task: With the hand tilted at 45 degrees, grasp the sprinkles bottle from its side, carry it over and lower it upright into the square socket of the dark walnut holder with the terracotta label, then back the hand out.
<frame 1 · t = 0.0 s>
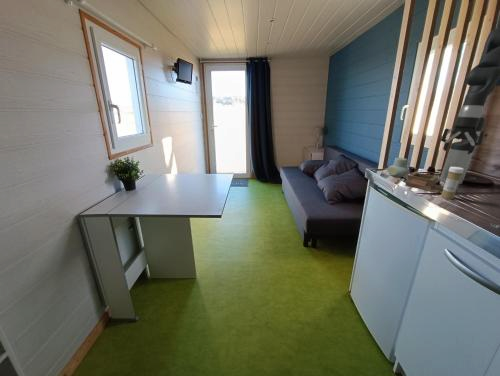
hand: (456, 152, 108), 17 cm above the counter, tool pointing down, fingers open, 8 cm apart
sprinkles bottle: (446, 197, 100), on the counter
spice socket: (420, 186, 114), on the counter
air freshener: (396, 176, 130), on the counter
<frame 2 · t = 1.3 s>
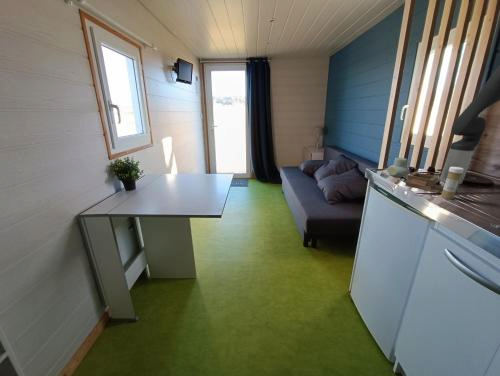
nothing on the counter moved.
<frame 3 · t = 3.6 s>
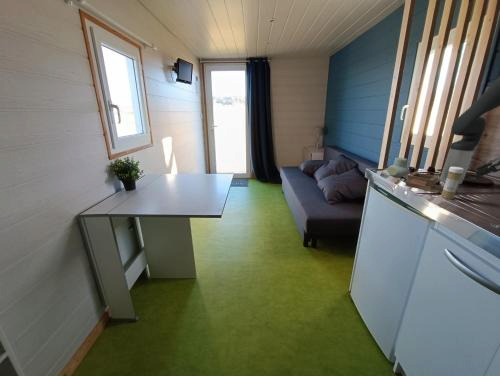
hand: (477, 172, 92), 13 cm above the counter, tool tilted 45°, fingers open, 8 cm apart
nothing on the counter moved.
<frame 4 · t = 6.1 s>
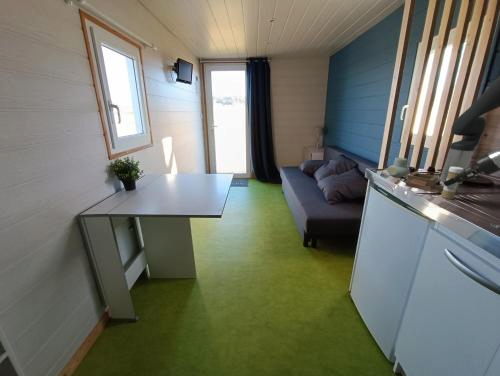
hand: (445, 183, 99), 6 cm above the counter, tool tilted 45°, fingers closed on sprinkles bottle, 4 cm apart
sprinkles bottle: (446, 197, 100), on the counter, touching gripper
everything else where it was.
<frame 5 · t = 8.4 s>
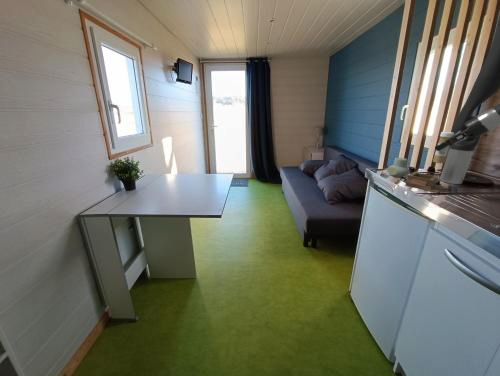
hand: (437, 148, 103), 20 cm above the counter, tool tilted 45°, fingers closed on sprinkles bottle, 4 cm apart
sprinkles bottle: (438, 162, 104), point 13 cm above the counter, touching gripper
everything else where it was.
when the fingers open (8 cm above the counter, at t = 11.1 s): sprinkles bottle drops 1 cm, resting on spice socket.
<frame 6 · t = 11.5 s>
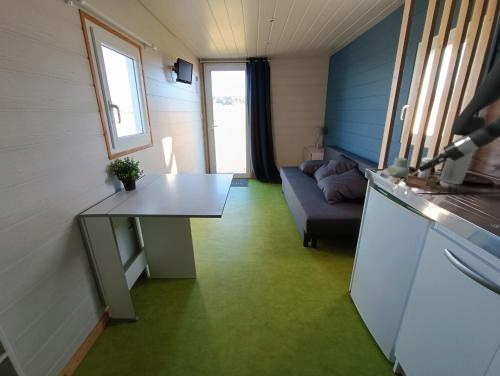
hand: (421, 168, 112), 9 cm above the counter, tool tilted 45°, fingers open, 7 cm apart
sprinkles bottle: (420, 185, 113), point 1 cm above the counter, touching spice socket
everything else where it was.
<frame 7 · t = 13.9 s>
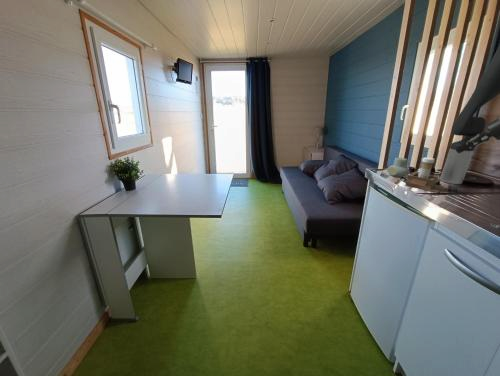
hand: (457, 150, 100), 20 cm above the counter, tool tilted 45°, fingers open, 8 cm apart
nothing on the counter moved.
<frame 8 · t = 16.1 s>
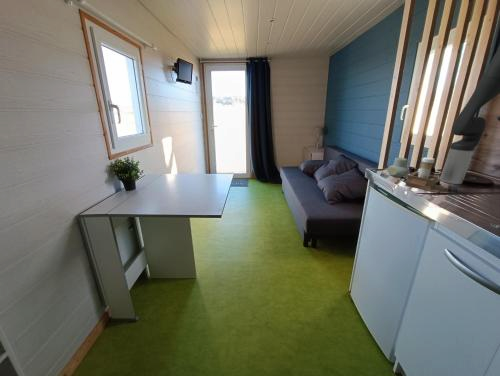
hand: (499, 120, 87), 33 cm above the counter, tool tilted 45°, fingers open, 8 cm apart
nothing on the counter moved.
at the end: sprinkles bottle 0.2 cm off-centre on the spice socket, point 0.6 cm above the spice socket's base; sprinkles bottle tilted 0°; the gripper is holding nothing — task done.
